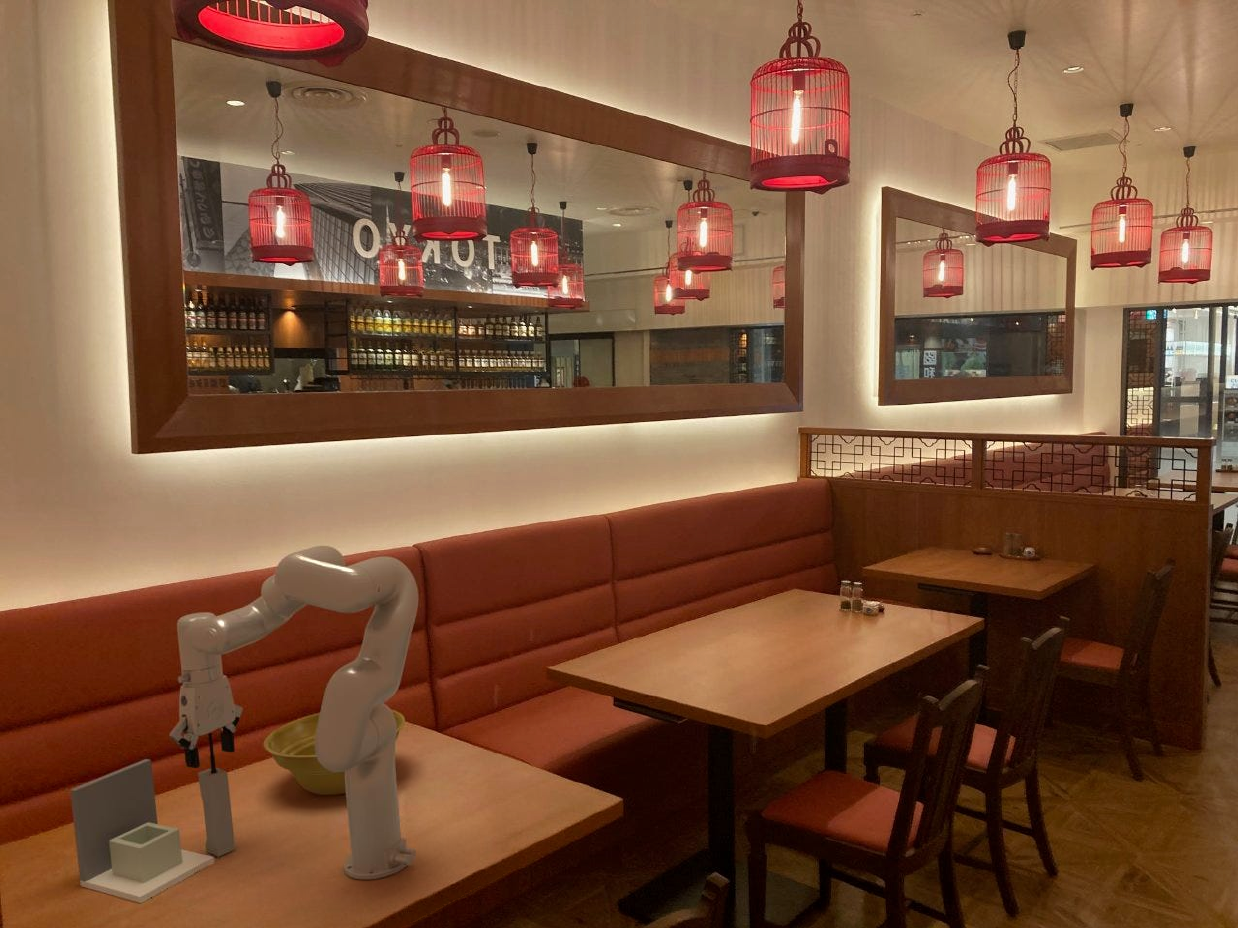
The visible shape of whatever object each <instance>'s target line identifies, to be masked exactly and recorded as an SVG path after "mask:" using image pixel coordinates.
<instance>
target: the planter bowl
mask: <svg viewBox="0 0 1238 928" xmlns="http://www.w3.org/2000/svg"><path fill="white" fill-rule="evenodd" d="M390 710H391V711H392V713H393V715H394V717H395V721H396V741H397V739H398V738H399V735H400V734H399V733H400V731H401V729H402V728H403V727H404V725H405V723H406V718H405V716H404V715H403V713H401V712H399V711H397V710H394V709H391V708H390ZM319 715H320V712H318V713H314V714H310V715H307V716H304V717H301V718H297V719H295V720H293V721H290V722H288V723H285V724H284V725H282V726H280V727H278V728H276V729H274V730H273V731H272V732H271V733H270V734H268V735H267V736H266V737H265V738H264V739H265V740H264V741H263V748H264V749H265V750H266V751H267V752H268V753H270V754H271V756H272V758H273V760H274V761H275V763H276V764H277V765H278V766H280V767H281V768H282V769H285V770H288V771H289V772H290V773H291V775H292V776H293V778H294V779H295V780H296V781H297V782H298V784H299V785H301V788H303V789H304V790H306V791H308V792H310V793H312V794H315V795H318V796H337V795H342V794H346V788H345V771H343V772H332V771H329V770H327V769H326V768H324V767H323V766H322V765H321V764H320V762H319V760H318V758H317V756H316V753H315V746H314V743H315V734H316V729H317V724H318V720H319Z"/></svg>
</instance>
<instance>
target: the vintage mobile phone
mask: <svg viewBox="0 0 1238 928" xmlns="http://www.w3.org/2000/svg"><path fill="white" fill-rule="evenodd" d="M207 735H208V743H209V745H208V746H209V753H210V756H209V759H210V760H209V761H210V768H207V769H205V770H202V771H199V772H197V773H198V774H197V777H198V783H199V790H200V796H201V800H202V804H203V815H204V823H205V824H204V825H205V833H206V842H205V851H206V852H207V853H208V854H211V855H212V854H213V856H214V855H215V856H214V857H216V856H217V858H220V857H219V856H221V855H223V856H225V855H227V854H230V853H232V852H234V851H235V849H236V845H235V835H234V825H233V824H234V822H233V816H232V813H233V812H232V804H231V803H232V802H231V796H230V795H231V793H230V786H229V785H230V784H229V783H230V782H229V774H228V771H227V770H225V769H221V768H219V767H216V760H215V759H216V758H215V754H214V753H215V752H214V742H213V735H212V732H210V733H207ZM233 850H234V851H233ZM231 851H232V852H231ZM229 852H230V853H229ZM226 853H227V854H226ZM224 854H225V855H224ZM221 857H222V856H221Z"/></svg>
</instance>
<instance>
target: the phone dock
mask: <svg viewBox="0 0 1238 928" xmlns="http://www.w3.org/2000/svg"><path fill="white" fill-rule="evenodd" d="M152 767H153V766H152V759H148V758H144V759H142V760H140V761H138V762H136V763H133V764H130V765H128V766H125V767H122V768H120V769H119V770H115V771H112V772H110V773H107V774H105V775H103V776H100V777H98V778H95V779H92V780H90V781H88V782H86V783H83V784H80V785H79V786H76V787H73V788H71V789H70V791H69V793H70V799H71V809H72V811H71V812H72V819H73V827H74V829H73V830H74V836H75V845H76V853H77V854H76V855H77V861H78V871H79V882H80V887H83V888H86V889H90V890H94V891H97V892H99V893H104V894H107V895H111V896H114V897H118V898H121V899H124V900H128V901H132V902H134V903H135V902H136V903H139V904H142V903H144V902H146V901H147V900H150V899H151V897H152V898H153V897H155V896H157V895H158V893H159V894H161V893H162V892H164V891H166V890H168V889H170V888H171V887H173V886H175V885H176V884H178V883H180V882H182V881H184V880H185V879H187V878H189V877H191V876H193V875H194V873H195V872H197V871H198V872H200V871H202V870H204V869H205V867H206V866H208V865H209V866H211V865H212V864H211V863H213V862H214V863H215V856H210V855H206V854H202V853H198V852H194V851H190V850H186V849H182V845H181V836H180V829H179V828H176V827H171V826H167V825H164V824H163V825H161V824H158V814H157V805H156V796H155V795H156V794H155V787H154V778H153V777H154V775H153V768H152ZM214 863H213V864H214ZM210 864H211V865H210ZM209 866H208V867H209ZM203 868H204V869H203ZM206 868H207V867H206ZM201 869H202V870H201ZM199 870H200V871H199ZM198 872H197V873H198ZM195 874H196V873H195ZM169 887H170V888H169ZM167 888H168V889H167ZM165 889H166V890H165ZM160 892H161V893H160ZM156 894H157V895H156Z"/></svg>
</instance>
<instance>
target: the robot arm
mask: <svg viewBox="0 0 1238 928" xmlns="http://www.w3.org/2000/svg"><path fill="white" fill-rule="evenodd" d="M418 589H419V588H418V585H417V583H416V579H415V577H414V575H413V573H412V572H411V570H410V568H408V566H407V565H405V564H404V563H403V562H402V561H400V560H399V559H397V558H395V557H392V556H377V557H373V558H368V559H365V560H361V561H359V562H357V563H354V564H349V565H347V566H346V560H345V558H344V556H343V554H342V553H341V552H340V551H339V549H338V550H337V549H336V548H335V547H332V546H330V545H318V546H317V545H316V546H313V547H309V548H306V549H302V550H298V551H294V552H292V553H289V554H288V555H286V556H284V558H282V559H281V560H280V561H279V562H278V563H277V565H276V568H275V571H274V574H273V575H270V576H269V577H268V578H267V579H266V580H264V581H263V583H262V585H261V589H260V590H261V593H260V594H261V596H260V597H258V598H256V599H255V600H253V601H252V602H251V603H249V604H248V605H245V606H243V607H241V608H236V609H234V610H231V611H228V612H225V613H222V614H219V615H215V613H212V612H209V611H208V612H195V613H190V614H186V615H184V616H182V617H180V618H179V619H178V620H177V623H176V630H177V641H178V651H179V658H180V659H179V660H180V661H179V662H180V669H181V670H180V671H181V675H180V676H178V677H177V681H178V683H179V684H181V683H182V685H181V686H180V689H179V699H178V701H179V702H178V703H179V704H178V712H179V713H178V714H179V721H178V722H177V723H176V725H175V726H174V727H173V729H171V731H170V732H169V735H168V736H169V737H170V739H172V741H174V742H175V744H176V745H178V746H179V747H180V748H181V749H183V751H184V760H185V761H184V762H185V765H186V767H187V768H192V769H198V768H200V766H201V765H200V763H201V762H200V754H199V748H198V747H196V745H197V743H198V739H199V737H202V736H204V735H208V734H209V733H212V732H214V731H217V730H219V729H221V732H220V735H219V736H220V745H221V746H220V747H221V752H224V753H225V752H226V753H231V754H233V753H234V752H235V751H236V749H235V738H234V733H235V732H236V731H237V725H238V724H239V722H240V717H241V715H242V712H243V710H244V709H243V707H242V706H240V705H238V704H235V701H234V697H233V693H232V692H233V691H232V688H231V685H230V681H229V678H228V677H227V675H224V673H223V663H222V655H225V654H228V653H231V652H233V651H236V650H239V649H241V648H242V647H243V648H244V647H245V646H248V645H251V644H253V643H257V642H258V641H260V640H262V639H263V638H265V637H267V636H268V635H269V634H271V633H272V632H273V633H274V631H276V630H277V629H279V628H280V627H281V626H283V625H285V624H286V623H287V622H288V621H289V620H290V619H291V618H292V617H293V615H294V614H295V613H297V612H298V611H300V610H301V609H302V608H304V607H306V606H307V605H311V606H315V607H318V608H322V609H325V610H329V611H334V612H337V613H343V614H355V613H359V612H362V611H364V610H366V609H369V608H371V607H374V609H373V612H372V613H371V616H370V618H369V619H368V622H367V624H366V626H365V628H364V629H365V630H364V634H363V638H362V639H363V640H362V643H361V645H360V646H361V647H360V650H359V653H358V655H357V657H356V658H354V660H352V661H351V662H349V663H347V664H345V665H343V666H341V667H340V668H339V669H337V670H336V671H335V672H333V674H332V676H331V677H330V679H329V681H328V682H327V684H326V687H325V690H324V694H323V699H322V702H321V705H320V706H321V707H320V712H319V713H320V715H319V720H318V724H317V729H316V734H315V743H314V746H315V753H316V756H317V758H318V760H319V762H320V764H321V765H322V766H323V767H324V768H326V769H327V770H329V771H332V772H343V771H345V788H346V793H345V797H346V798H345V799H346V807H347V810H346V811H347V820H348V829H349V830H348V831H349V841H350V851H351V854H350V855H349V856H348V857H347V858H346V859H345V861H344V863H343V867H344V873H345V874H346V875H347V876H348V877H350V878H352V879H356V880H365V881H366V880H376V879H382V878H384V877H385V878H386V877H389V876H391V875H393V874H394V875H395V873H398V872H399V871H401V870H403V869H404V868H406V867H408V866H412V865H413V862H414V857H416V854H417V851H416V849H413V848H409V847H408V846H407V839H406V838H405V837H402V830H401V820H400V819H401V818H400V809H399V808H400V807H399V797H398V786H397V771H396V743H397V740H396V721H395V717H394V715H393V713H392V711H391V710H392V709H391V708H390V707H389V706H388V705H386V704H385V702H386V701H388V700H390V699H391V697H393V696H394V695H395V694H396V693H397V692H398V689H399V687H400V685H401V681H402V676H403V672H404V668H405V662H406V658H407V654H408V650H409V645H410V640H411V635H412V631H413V628H414V626H415V625H414V624H415V621H416V616H417V612H418V607H419V590H418ZM390 709H391V710H390ZM183 734H184V735H183ZM182 735H183V736H182Z"/></svg>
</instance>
